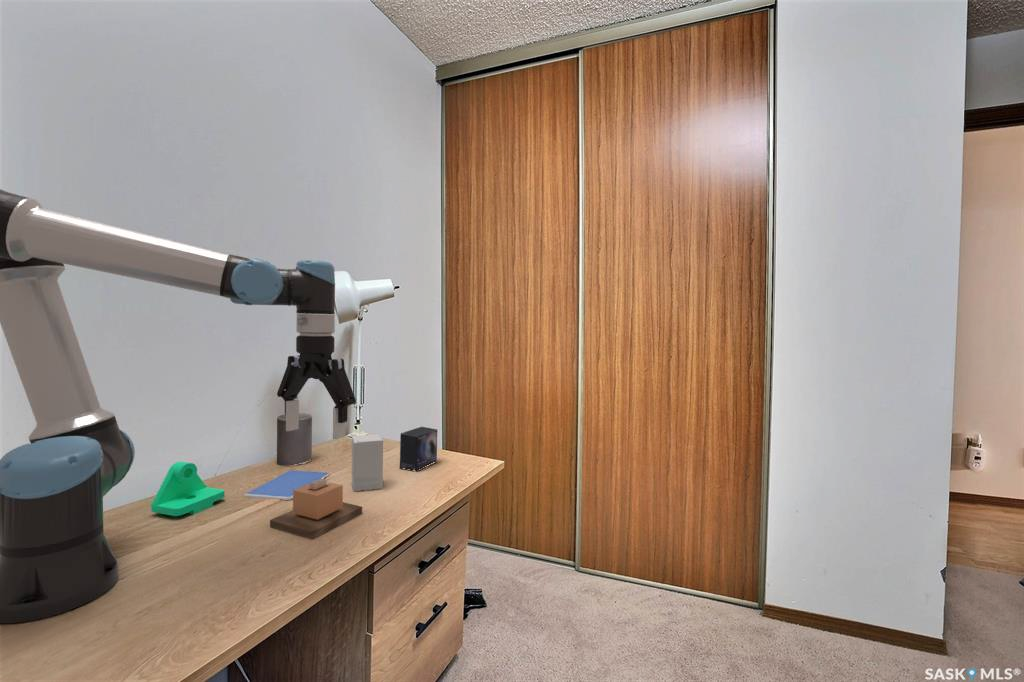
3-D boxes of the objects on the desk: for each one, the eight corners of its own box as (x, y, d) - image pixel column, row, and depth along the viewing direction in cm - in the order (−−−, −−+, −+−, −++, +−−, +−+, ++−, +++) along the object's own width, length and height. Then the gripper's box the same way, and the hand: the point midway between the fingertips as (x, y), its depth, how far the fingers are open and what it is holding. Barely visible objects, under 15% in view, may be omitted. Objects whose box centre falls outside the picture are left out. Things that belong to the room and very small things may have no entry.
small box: (416, 472, 135) (417, 436, 135) (398, 469, 138) (398, 433, 137) (438, 462, 145) (438, 428, 144) (420, 459, 147) (421, 426, 147)
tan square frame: (317, 519, 98) (317, 494, 98) (293, 513, 101) (293, 489, 101) (342, 507, 104) (342, 484, 104) (318, 501, 107) (318, 479, 107)
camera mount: (177, 521, 101) (176, 474, 100) (151, 516, 103) (150, 469, 103) (226, 501, 112) (226, 458, 112) (202, 496, 115) (201, 454, 114)
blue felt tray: (290, 473, 134) (290, 468, 134) (332, 476, 132) (332, 471, 132) (242, 499, 115) (242, 494, 114) (290, 503, 113) (290, 497, 113)
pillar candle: (270, 461, 142) (270, 412, 141) (301, 454, 150) (301, 407, 149) (287, 468, 136) (287, 417, 135) (318, 460, 144) (319, 411, 143)
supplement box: (383, 488, 122) (383, 440, 121) (352, 492, 119) (353, 442, 118) (380, 479, 129) (380, 433, 128) (351, 482, 126) (351, 435, 125)
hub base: (312, 539, 94) (312, 497, 94) (269, 527, 99) (269, 486, 98) (362, 513, 107) (362, 475, 106) (322, 503, 112) (322, 467, 111)
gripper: (259, 332, 103) (259, 430, 104) (347, 337, 92) (346, 445, 93) (288, 332, 109) (288, 423, 110) (374, 336, 99) (372, 437, 100)
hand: (315, 433), depth 102 cm, fingers open, 13 cm apart
